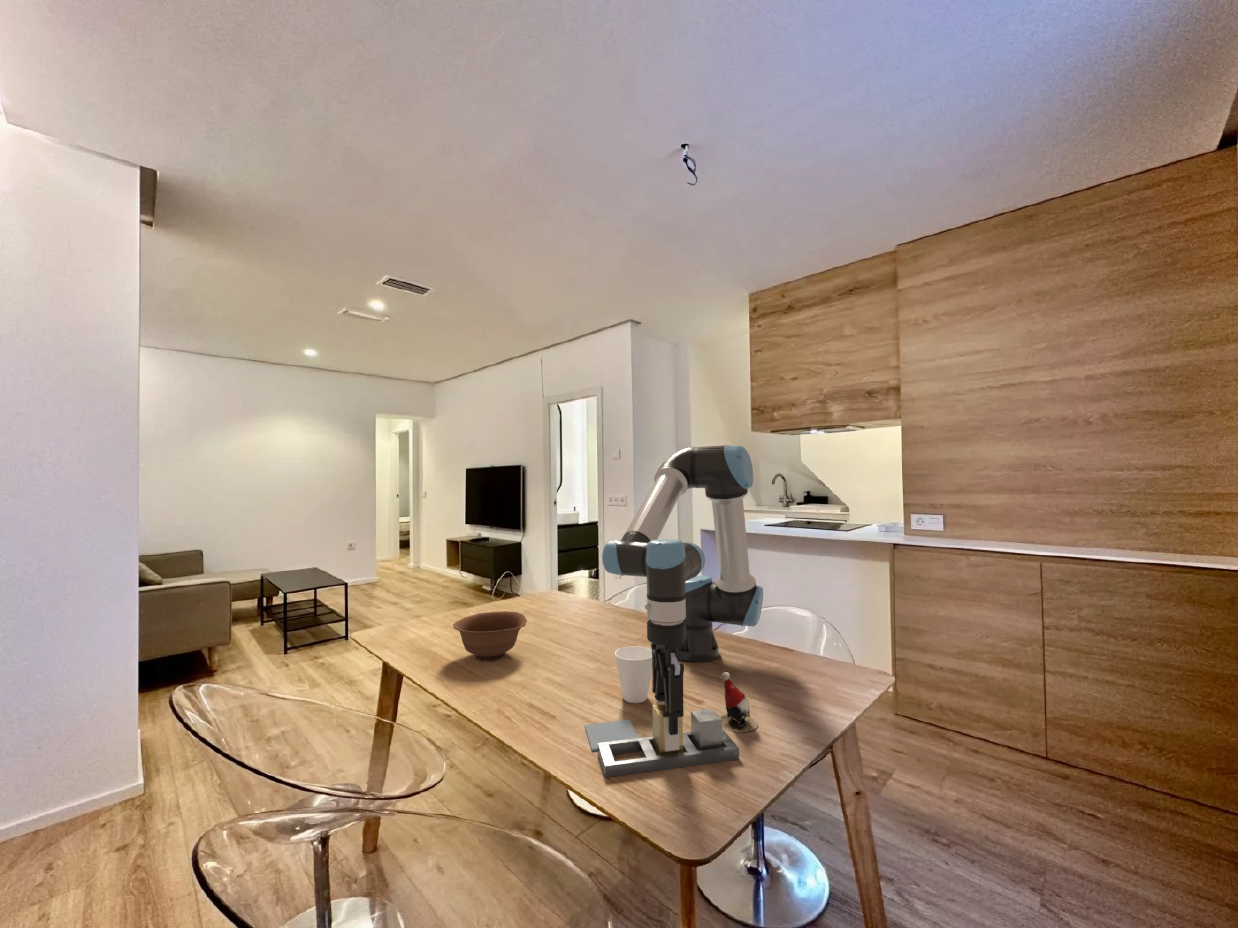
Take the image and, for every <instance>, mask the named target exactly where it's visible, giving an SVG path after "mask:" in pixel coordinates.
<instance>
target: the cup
mask: <svg viewBox="0 0 1238 928" xmlns="http://www.w3.org/2000/svg"><path fill="white" fill-rule="evenodd" d="M614 656H615V660H616V664H617V671H618V677H619V683H620V690H621V696H622V699H623V700H624V701H625V702H627V703H629V704H630V703H631V704H640V703H641V704H642V703H643V702H646V700H647V699H648V696H649V691H650V683H651V678H652V677H651V676H652V649H651V648H649V647H645V646H638V645H637V646H635V645H632V646H631V645H630V646H624V647H619V648H618V649H616V650H615V652H614Z"/></svg>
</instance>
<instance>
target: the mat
mask: <svg viewBox="0 0 1238 928" xmlns="http://www.w3.org/2000/svg"><path fill="white" fill-rule="evenodd" d="M584 729H585V733H586V737H587V739H588V744H589V746H590V749H591V752H598V743H602V742H610V741H619V740H627V739H635V738H639V736H638V734H637V732H636V730H635V728H634V726H633V724H632V722H631V720H630V719H624V720H615V721H614V720H613V721H605V722H598V723H597V722H596V723H588V724H587V723H586V724H584Z"/></svg>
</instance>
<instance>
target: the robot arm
mask: <svg viewBox="0 0 1238 928" xmlns="http://www.w3.org/2000/svg"><path fill="white" fill-rule="evenodd" d="M653 482H654V483H653V485H652V487H651V488H650V489H649V492H648V494H647V495H646V497H645V499H644V500H643V502H642V504H641V505H640V507H639V509H638V510H637V512H636V514H635V516H634V518H633V519H632V521H631V523H630V524H629V526H628V528H627V529H626V531H625V533H624V535H623V536H622V537H621V539H620V540H617V539H615V540H610V541H608V542H607V543H605V545H604V547H603V550H602V553H601V561H602V565H603V568H604V570H605V572H607V573H608V574H611V575H618V576H619V575H620V576H629V577H640V578H641V577H642V578H644V577H645V578H646V601H647V603H644V605H643V606H644V609H645V610H646V611H647V613H646V617H647V619H648V621H647V622H646V639H647V640H648V642H650V643H651V644H650V649H651V650H652V671H651V676H652V677H651V678H652V679H651V680H652V681H651V682H652V683H651V685H652V688H651V689H652V691H651V692H652V693H653V694H654V699H655V705H656V704H665V707H666V713H662V716H663V718H664V749H665V751H673V750H679V717H684V713H685V712H684V711H685V710H684V673H685V665H684V663H683V662H680V661H684V662H688V663H689V662H691V663H704V662H710V661H713V660H715V659H717V658H718V657H719V655H720V654H719V649H720V648H719V645H718V642H717V638H716V636H715V632H714V629H713V623H718V624H728V625H735V626H741V627H755V626H757V625H758V623H759V621H760V618H761V614H762V608H763V602H764V587H762V586H760V585H757V580H756V577H754V576H753V575H752V574H751V571H750V561H749V552H748V540H747V529H746V519H745V518H746V517H745V508H744V507H745V506H744V498H745V497H746V496H747V495H748V493H749V489H751V487H753V483H754V469H753V464H752V460H751V457H750V454H749V452H748V451H747V449H746V448H745V447H744V446H743V445H729V444H727V445H726V444H725V445H711V446H710V445H709V446H708V445H707V446H690V447H686V448H684V449H681V450H679V451H677V452H676V453H674V454H672V455H671V456H669V457H668V458H667V459H666V460H665V461H664V462H663V463H662V464H661V465H660V466H659V467H658V469H657V471H656V472H655V474H654V477H653ZM694 488H695V489H704V492H705V493H704V494H705V497H706V498H707V499H709V500H710V501H711V507H712V516H713V525H714V533H715V543H716V544H715V545H716V552H717V561H718V563H717V564H718V572H719V576H717V577H716V579H715V582H714V581H713V578H712V576H710V575H699V574H700V573H701V572H702V571H703V570H704V567H705V564H706V556H705V553H704V551H703V550H702V548H701V547H700V546H698V545H697V544H696V543H694V542H683V541H682V540H680V539H672V538H659V537H661V536H660V535H661V533H662V531H663V529H664V527H665V525H666V523H667V521H668V520H669V518H670V515H671V514H672V512H673V509H674V508H675V505H676V504H677V501H678V500H679V498H680V497H682V496H683V495H685V493H686V492H687V490H689V489H694Z"/></svg>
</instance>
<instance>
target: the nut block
mask: <svg viewBox="0 0 1238 928" xmlns="http://www.w3.org/2000/svg"><path fill="white" fill-rule="evenodd" d="M662 713H666V707H665V704H656V703H655V704H652V736H653V749H654V751H655V753H656V755H657V756H663V755H670V754H678V753H683V733H684V729H683V727H684V725H683V721H684V718H683V717H684V716H683V717H679V750H673V751H665V749H664V718H663V716H662Z"/></svg>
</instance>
